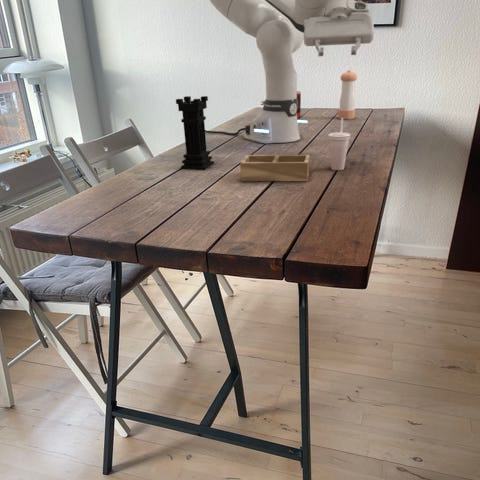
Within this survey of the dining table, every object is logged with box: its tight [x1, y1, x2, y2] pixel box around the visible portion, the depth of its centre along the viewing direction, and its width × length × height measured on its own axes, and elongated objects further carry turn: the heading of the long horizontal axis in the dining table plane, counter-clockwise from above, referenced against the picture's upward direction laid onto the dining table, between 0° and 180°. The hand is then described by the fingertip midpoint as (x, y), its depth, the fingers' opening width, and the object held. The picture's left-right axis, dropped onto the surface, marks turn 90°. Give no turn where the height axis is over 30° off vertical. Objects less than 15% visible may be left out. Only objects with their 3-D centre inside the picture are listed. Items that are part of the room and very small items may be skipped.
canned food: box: [297, 90, 302, 119], centre depth 228 cm, size 8×8×11 cm
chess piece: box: [175, 95, 215, 171], centre depth 153 cm, size 8×8×20 cm
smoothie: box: [327, 118, 351, 171], centre depth 144 cm, size 6×6×14 cm
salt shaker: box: [337, 69, 358, 120], centre depth 219 cm, size 7×7×19 cm
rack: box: [239, 154, 311, 182], centre depth 142 cm, size 10×19×5 cm, turn 80°
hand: (337, 54), depth 145 cm, fingers open, 8 cm apart
